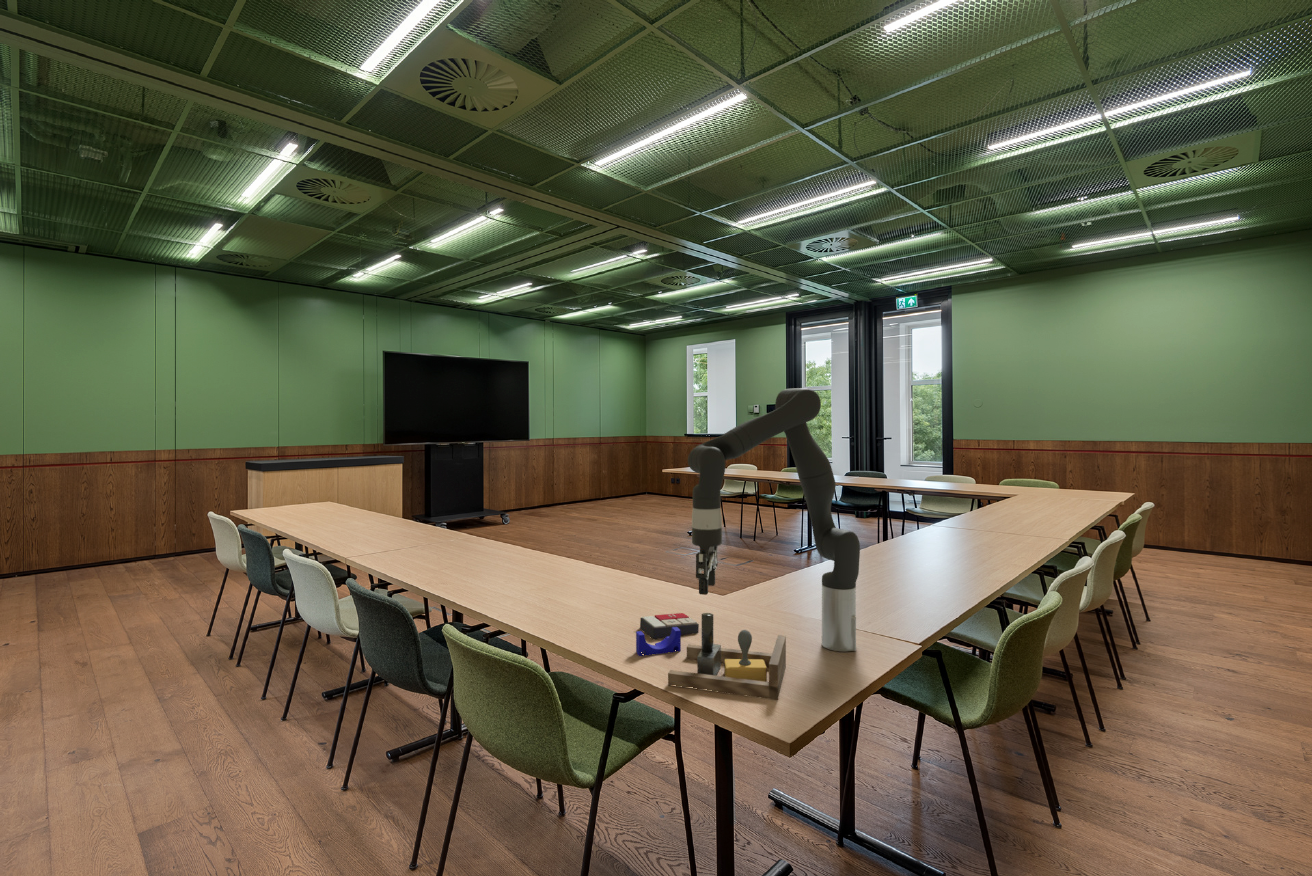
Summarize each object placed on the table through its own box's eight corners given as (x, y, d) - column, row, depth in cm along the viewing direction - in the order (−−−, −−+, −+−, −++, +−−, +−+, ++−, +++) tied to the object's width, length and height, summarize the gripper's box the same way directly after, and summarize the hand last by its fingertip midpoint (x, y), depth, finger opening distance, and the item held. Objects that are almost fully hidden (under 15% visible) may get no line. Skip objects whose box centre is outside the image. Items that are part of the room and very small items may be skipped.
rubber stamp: (725, 682, 146) (725, 633, 145) (724, 673, 151) (724, 625, 151) (766, 683, 145) (766, 634, 145) (763, 673, 151) (763, 626, 151)
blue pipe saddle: (675, 646, 170) (675, 625, 170) (680, 651, 166) (680, 630, 166) (634, 651, 166) (634, 629, 166) (639, 657, 162) (639, 635, 162)
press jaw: (720, 665, 155) (720, 610, 154) (713, 680, 146) (713, 621, 146) (705, 664, 156) (705, 608, 156) (697, 678, 147) (697, 619, 147)
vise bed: (785, 666, 155) (785, 635, 155) (777, 699, 136) (777, 665, 136) (688, 655, 163) (688, 626, 163) (668, 685, 144) (668, 652, 144)
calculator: (699, 621, 181) (653, 625, 175) (698, 636, 181) (653, 640, 175) (683, 611, 191) (640, 615, 185) (683, 625, 191) (639, 628, 185)
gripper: (715, 531, 142) (716, 598, 143) (726, 521, 156) (727, 583, 156) (685, 529, 145) (685, 596, 145) (698, 520, 158) (699, 581, 159)
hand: (707, 589), depth 151 cm, fingers open, 8 cm apart
